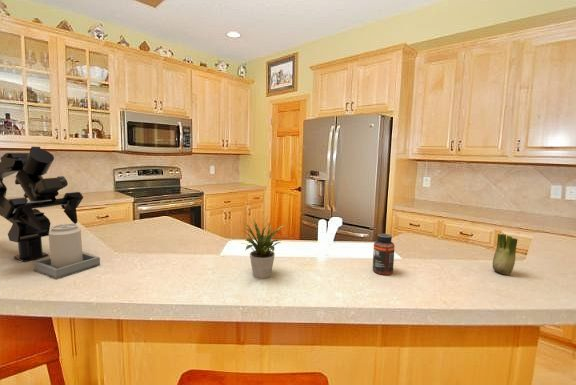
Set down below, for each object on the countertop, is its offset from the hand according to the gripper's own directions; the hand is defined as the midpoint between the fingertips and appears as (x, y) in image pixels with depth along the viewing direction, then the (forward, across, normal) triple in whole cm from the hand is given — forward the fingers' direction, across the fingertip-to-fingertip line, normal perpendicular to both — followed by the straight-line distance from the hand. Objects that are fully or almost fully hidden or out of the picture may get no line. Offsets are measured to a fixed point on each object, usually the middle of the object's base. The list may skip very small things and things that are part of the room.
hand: (59, 226), depth 88 cm
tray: (+10, 0, +7) cm, 12 cm away
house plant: (+47, +21, -29) cm, 59 cm away
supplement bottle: (+69, +41, -52) cm, 96 cm away
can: (+10, 0, +7) cm, 12 cm away
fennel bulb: (+93, +57, -75) cm, 132 cm away
